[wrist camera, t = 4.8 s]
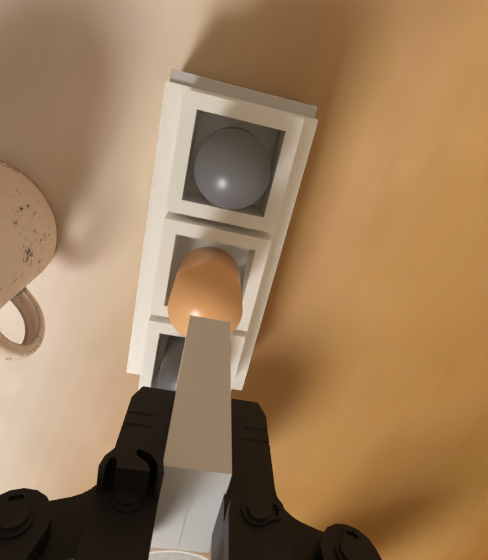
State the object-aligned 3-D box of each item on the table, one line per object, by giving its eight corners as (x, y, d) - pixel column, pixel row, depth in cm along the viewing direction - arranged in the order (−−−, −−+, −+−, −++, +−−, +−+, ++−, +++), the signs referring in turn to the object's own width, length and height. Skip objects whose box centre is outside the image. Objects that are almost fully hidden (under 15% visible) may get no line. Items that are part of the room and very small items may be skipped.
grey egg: (194, 185, 21) (188, 200, 17) (206, 119, 20) (201, 121, 16) (254, 198, 22) (260, 216, 18) (270, 135, 20) (279, 140, 17)
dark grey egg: (163, 363, 26) (152, 405, 22) (170, 319, 24) (161, 356, 21) (213, 371, 26) (211, 413, 22) (223, 328, 25) (223, 366, 21)
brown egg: (173, 297, 22) (162, 335, 18) (183, 240, 20) (173, 269, 17) (232, 308, 22) (233, 347, 18) (246, 253, 21) (250, 284, 17)
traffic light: (130, 395, 31) (109, 456, 26) (175, 73, 22) (159, 61, 17) (226, 409, 32) (227, 471, 27) (308, 107, 23) (334, 107, 18)
